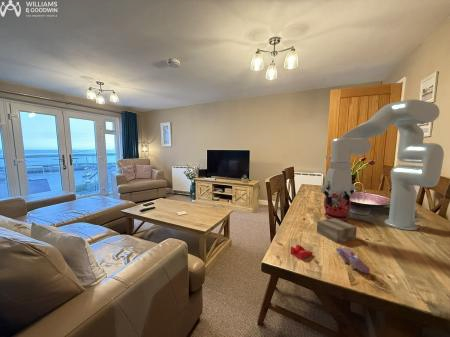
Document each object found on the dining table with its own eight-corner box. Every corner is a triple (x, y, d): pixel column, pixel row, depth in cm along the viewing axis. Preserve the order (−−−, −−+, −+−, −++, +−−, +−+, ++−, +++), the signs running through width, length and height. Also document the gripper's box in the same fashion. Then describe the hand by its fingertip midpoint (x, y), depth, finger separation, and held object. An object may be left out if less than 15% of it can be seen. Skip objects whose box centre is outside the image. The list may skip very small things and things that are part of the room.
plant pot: (349, 224, 100) (351, 202, 99) (322, 219, 107) (323, 199, 105) (349, 217, 111) (350, 197, 110) (324, 213, 118) (325, 194, 116)
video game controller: (338, 261, 70) (331, 245, 69) (349, 255, 70) (342, 239, 69) (360, 279, 60) (352, 261, 59) (372, 273, 60) (364, 254, 59)
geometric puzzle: (353, 203, 84) (342, 187, 87) (348, 206, 79) (336, 189, 82) (338, 210, 88) (328, 194, 91) (333, 213, 84) (322, 197, 87)
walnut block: (334, 229, 94) (334, 218, 93) (355, 239, 83) (356, 226, 83) (316, 232, 90) (317, 220, 90) (336, 243, 80) (337, 230, 79)
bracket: (301, 261, 68) (301, 253, 68) (290, 254, 72) (290, 247, 72) (312, 256, 71) (312, 248, 71) (301, 250, 75) (301, 243, 75)
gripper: (350, 165, 88) (348, 201, 90) (316, 165, 86) (314, 203, 88) (364, 166, 81) (361, 206, 83) (327, 167, 79) (325, 208, 80)
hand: (337, 204), depth 85 cm, fingers closed on geometric puzzle, 8 cm apart
